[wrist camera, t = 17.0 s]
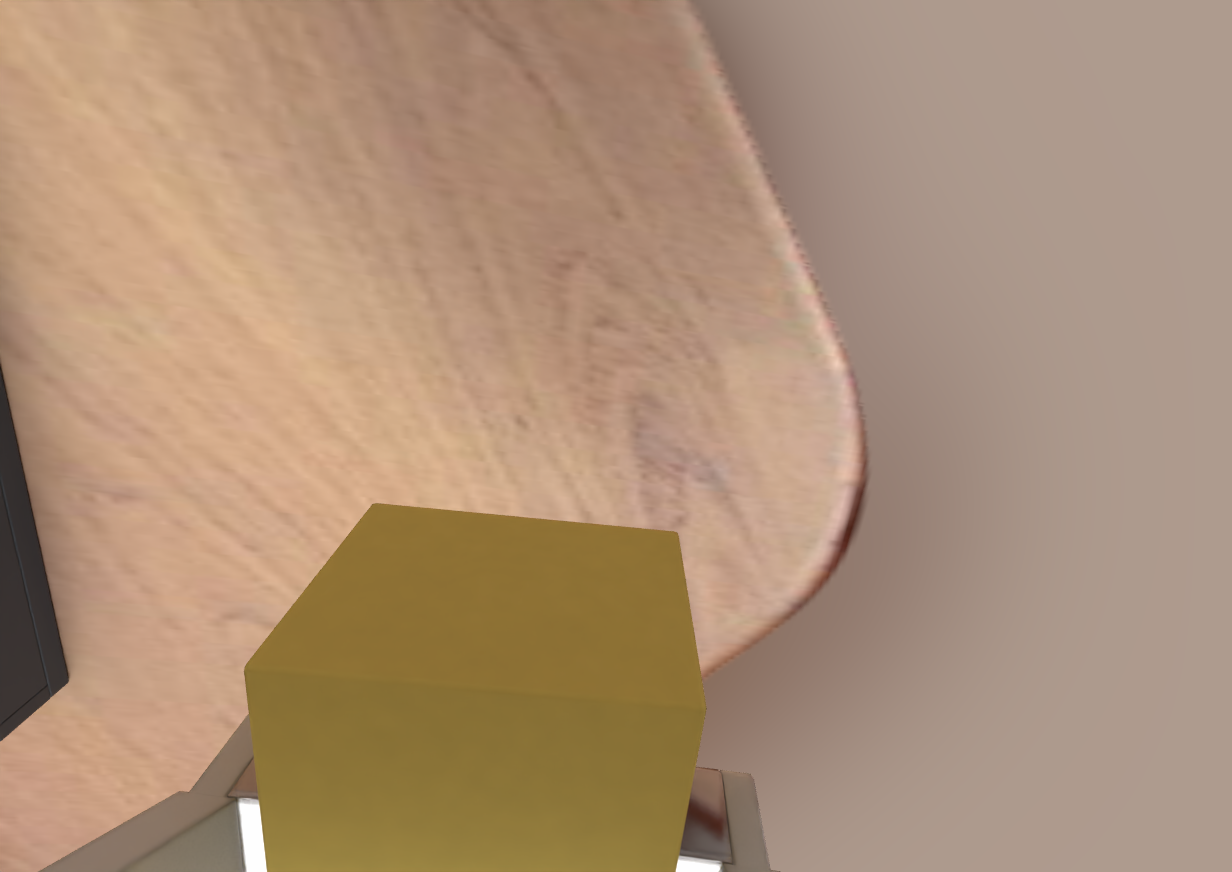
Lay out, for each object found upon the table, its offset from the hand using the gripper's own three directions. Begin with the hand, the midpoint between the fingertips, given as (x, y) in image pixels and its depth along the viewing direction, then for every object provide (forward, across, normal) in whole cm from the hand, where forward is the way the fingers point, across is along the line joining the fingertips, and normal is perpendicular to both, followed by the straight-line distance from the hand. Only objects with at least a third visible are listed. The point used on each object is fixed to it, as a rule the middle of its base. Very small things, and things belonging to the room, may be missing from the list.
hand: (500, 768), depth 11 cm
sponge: (+2, 0, 0) cm, 2 cm away
